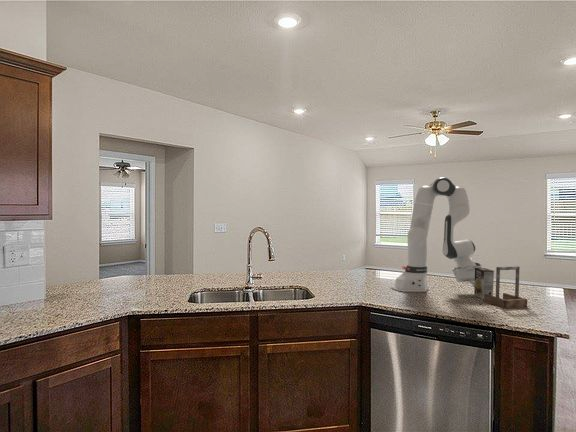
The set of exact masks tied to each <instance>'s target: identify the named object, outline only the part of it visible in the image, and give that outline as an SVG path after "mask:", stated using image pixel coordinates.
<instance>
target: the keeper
mask: <svg viewBox="0 0 576 432" xmlns="http://www.w3.org/2000/svg"><path fill="white" fill-rule="evenodd" d="M495 270H496V271H495V273H496V274H495V296H494V295H493V296H491V295H488V294H484V299H483V302H485V303H487V304H491V305H494V306H497V307H500V308H503V309H514V308H515V309H516V308H517V309H519V308H528V298H524V297H521V296H519V294H520V266H496V269H495ZM501 271H515V286H514V291H515V292H514V295H513V294H509V293H506V292H503V293H502V298H500V287H501V286H500V284H501V283H500V282H501V281H500V280H501V279H500V278H501Z"/></svg>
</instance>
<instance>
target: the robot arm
mask: <svg viewBox="0 0 576 432" xmlns="http://www.w3.org/2000/svg"><path fill="white" fill-rule="evenodd" d="M467 193H468V192H467V191H466V189H465V188H464V187H462V186H456V185H455V184H454V183H453V182H452V180H451V179H449V178H448V177H446V176H440V177H437V178H436V179H433V182H432V183H431V184H430V185H423V186H420V187H419V188H418V191H417V193H416V196H415V198H414V202H413V208H412V213H411V219H410V220H411V221H410V227H409V230H408V232H407V265H406V266H405V265H402V266H401V269H402V270H404V272H403V273H401V274H400V275H399V276H397V277H396V278H395V282H394V285H391V287H390V288H391V289H393V290H395V291H398V292H402V293H403V292H405V293H406V292H409V293H410V292H413V293H414V292H415V293H416V292H419V293H421V292H427V291H428V290H429V285H428V278H427V276H428V275H427V274H428V267H427V255H428V253H427V252H428V251H427V250H428V249H427V248H428V247H427V245H428V244H427V243H428V242H427V239H428V233H429V229H430V223H431V218H432V212H433V209H434V203H435V199H436V198H437V196H444V197H446V198H447V200H448V206H449V208H448V209H449V211H448V214H447V215H445V218H444V226H443V227H444V231H443V244H442V254H443V255H444V257H446V258H448V259H450V260H453V261H454V263H455V264H456V267H452V269H451V271H452V272H453V275H454V279H455V280H456V281H457V282H458V283H466V282H467V283H468V282H469V283H470V284H471V286H473V287H474V286H475V268H483V265H482V264H481V262H480V263H479V262H475V261H473V260H471V258H470V257H472V256H473V254H475V251H476V245H475V243H474V242H473V241H472V240H471V239H461V240H455V241H454V228H455V226H456V225H457V224H458V223H460V222H462V221H463V220H465V219H466V218H467V217H468V216H469V214H470V203H469V201H470V200H469V197H468V194H467Z"/></svg>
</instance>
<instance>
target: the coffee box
mask: <svg viewBox="0 0 576 432" xmlns="http://www.w3.org/2000/svg"><path fill="white" fill-rule="evenodd" d="M494 272H495V270H492V269H489V268H485V267H482V268H475V286H473V287H474V289H473V291H474V292H473V296H475V297H477V298H479V299H481V300H484V294H488V295H491V296H494V281H495V280H494V278H495V277H494V275H495V273H494Z"/></svg>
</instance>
